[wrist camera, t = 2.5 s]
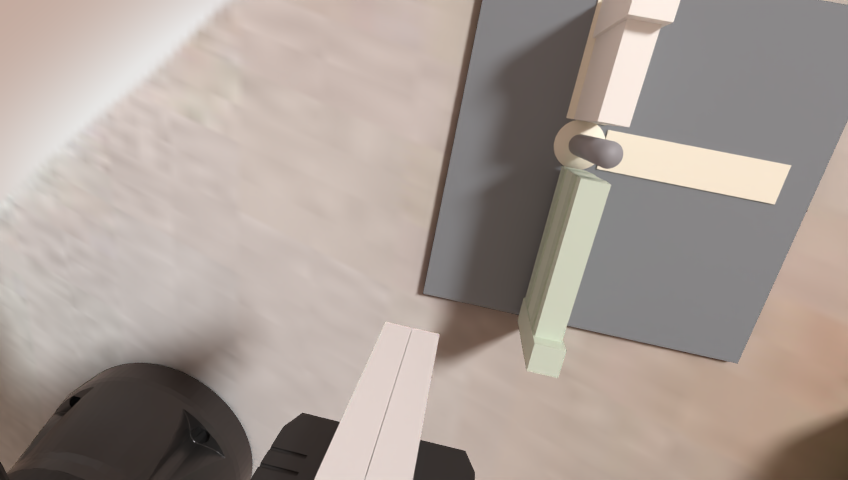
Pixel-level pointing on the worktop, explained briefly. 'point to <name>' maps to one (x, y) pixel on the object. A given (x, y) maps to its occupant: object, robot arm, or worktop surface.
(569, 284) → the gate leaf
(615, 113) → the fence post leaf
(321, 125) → the worktop surface
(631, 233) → the mat
